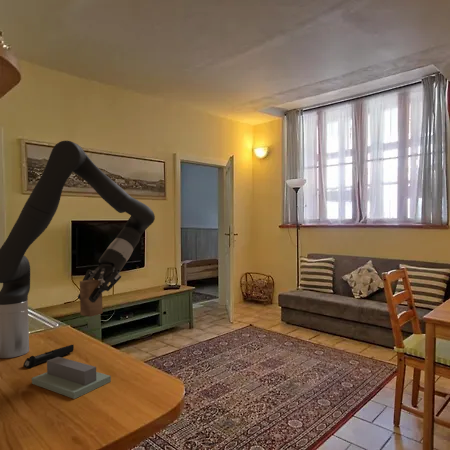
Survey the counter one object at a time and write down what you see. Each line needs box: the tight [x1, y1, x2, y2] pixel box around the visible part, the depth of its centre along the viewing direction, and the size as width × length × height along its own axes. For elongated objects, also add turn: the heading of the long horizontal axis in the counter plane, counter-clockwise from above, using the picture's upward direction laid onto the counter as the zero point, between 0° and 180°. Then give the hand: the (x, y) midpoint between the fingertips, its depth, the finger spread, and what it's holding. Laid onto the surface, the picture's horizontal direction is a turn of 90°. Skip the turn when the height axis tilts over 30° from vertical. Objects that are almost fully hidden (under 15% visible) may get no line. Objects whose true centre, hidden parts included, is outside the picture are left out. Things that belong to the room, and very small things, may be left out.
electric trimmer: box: [22, 344, 75, 369], centre depth 114 cm, size 4×16×3 cm, turn 145°
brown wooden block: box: [79, 278, 104, 317], centre depth 108 cm, size 4×4×10 cm
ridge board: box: [31, 356, 112, 400], centre depth 96 cm, size 18×11×5 cm, turn 58°
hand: (85, 299), depth 107 cm, fingers closed on brown wooden block, 4 cm apart
